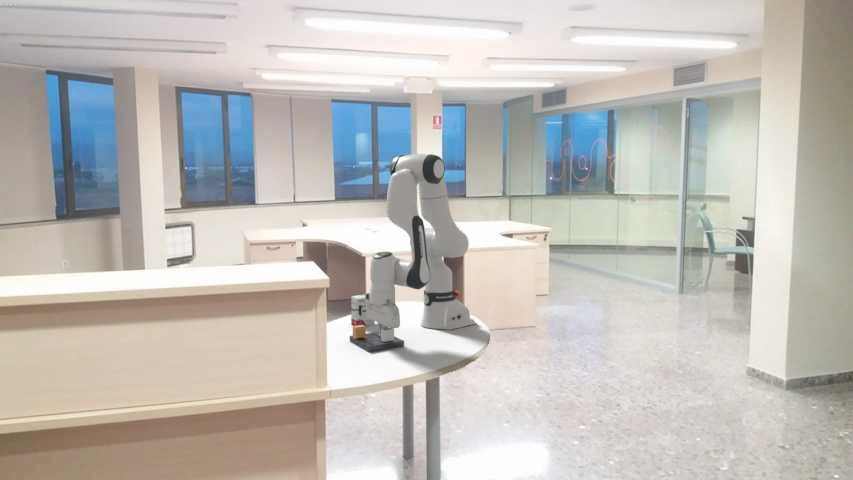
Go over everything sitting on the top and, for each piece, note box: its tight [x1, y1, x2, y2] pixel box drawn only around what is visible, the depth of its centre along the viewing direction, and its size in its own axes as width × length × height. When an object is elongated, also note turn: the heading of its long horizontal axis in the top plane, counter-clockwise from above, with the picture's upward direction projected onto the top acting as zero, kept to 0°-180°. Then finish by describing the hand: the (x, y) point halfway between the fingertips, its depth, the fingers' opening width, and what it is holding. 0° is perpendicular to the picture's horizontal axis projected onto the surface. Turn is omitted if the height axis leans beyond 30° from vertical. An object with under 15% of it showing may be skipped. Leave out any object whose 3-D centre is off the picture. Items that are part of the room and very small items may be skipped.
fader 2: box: [381, 327, 395, 342], centre depth 231 cm, size 4×2×4 cm, turn 121°
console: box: [349, 331, 405, 353], centre depth 235 cm, size 14×16×2 cm
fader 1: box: [352, 325, 367, 339], centre depth 235 cm, size 4×2×4 cm, turn 121°
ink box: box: [350, 294, 376, 327], centre depth 262 cm, size 8×5×12 cm, turn 123°
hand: (383, 335), depth 234 cm, fingers closed
